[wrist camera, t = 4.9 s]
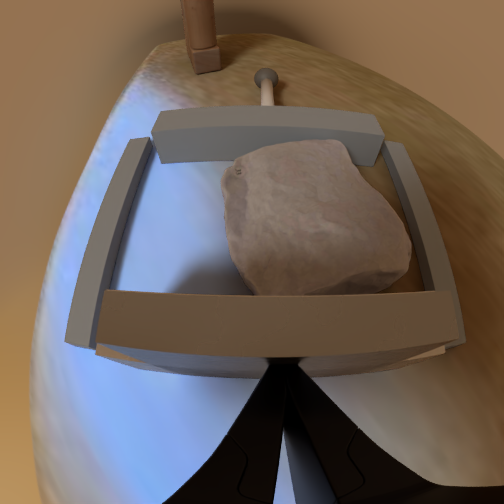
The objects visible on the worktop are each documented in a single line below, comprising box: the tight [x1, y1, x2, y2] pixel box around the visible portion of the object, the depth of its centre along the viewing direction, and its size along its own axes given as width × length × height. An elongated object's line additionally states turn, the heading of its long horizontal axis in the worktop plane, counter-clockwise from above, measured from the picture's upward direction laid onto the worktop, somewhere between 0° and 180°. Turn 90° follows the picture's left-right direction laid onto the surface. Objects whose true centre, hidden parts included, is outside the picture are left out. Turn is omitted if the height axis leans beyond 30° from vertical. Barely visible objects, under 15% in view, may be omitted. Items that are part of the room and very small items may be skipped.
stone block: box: [221, 139, 412, 296], centre depth 17 cm, size 12×5×10 cm
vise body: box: [64, 68, 466, 350], centre depth 20 cm, size 29×25×4 cm
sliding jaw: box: [95, 289, 459, 379], centre depth 11 cm, size 3×15×9 cm, turn 89°
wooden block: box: [181, 0, 222, 74], centre depth 26 cm, size 4×11×18 cm, turn 16°
